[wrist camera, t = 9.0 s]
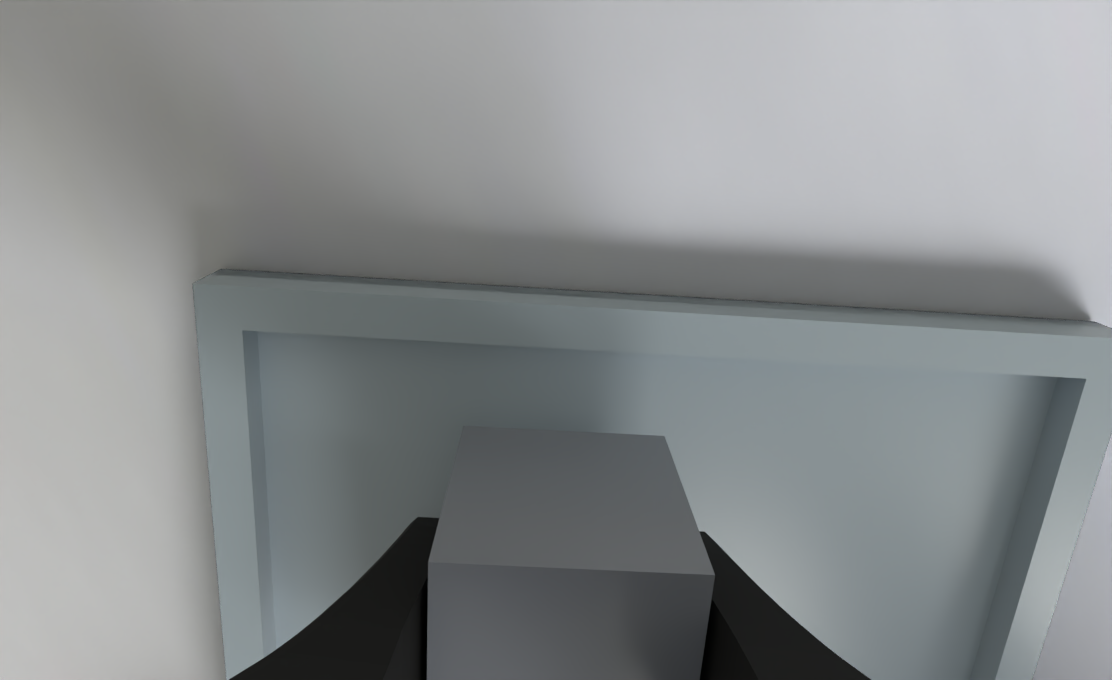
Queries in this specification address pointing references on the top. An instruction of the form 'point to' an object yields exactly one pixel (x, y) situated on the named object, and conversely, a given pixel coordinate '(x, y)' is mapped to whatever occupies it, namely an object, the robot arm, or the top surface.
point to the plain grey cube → (566, 561)
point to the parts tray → (691, 434)
